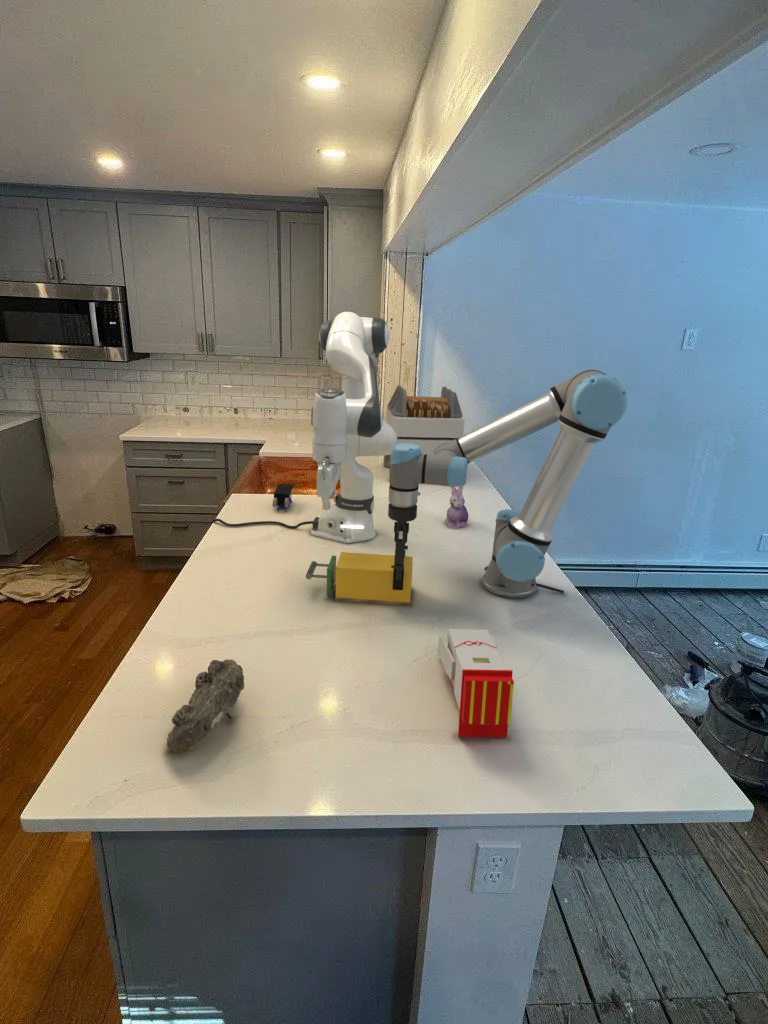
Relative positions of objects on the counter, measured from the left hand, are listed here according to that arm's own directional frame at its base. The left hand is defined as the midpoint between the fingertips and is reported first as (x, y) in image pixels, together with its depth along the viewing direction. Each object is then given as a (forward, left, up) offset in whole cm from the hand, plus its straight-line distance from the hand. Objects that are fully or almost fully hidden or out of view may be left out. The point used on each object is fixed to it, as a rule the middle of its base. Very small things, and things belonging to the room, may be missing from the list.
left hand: (329, 503), depth 151 cm
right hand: (+20, +2, -20) cm, 28 cm away
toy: (+45, -33, -25) cm, 61 cm away
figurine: (+26, +64, -25) cm, 73 cm away
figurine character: (-41, +57, -25) cm, 74 cm away
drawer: (+8, -1, -24) cm, 25 cm away
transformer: (-2, +126, -25) cm, 129 cm away
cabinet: (+13, +1, -25) cm, 28 cm away
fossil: (-1, -57, -25) cm, 63 cm away
